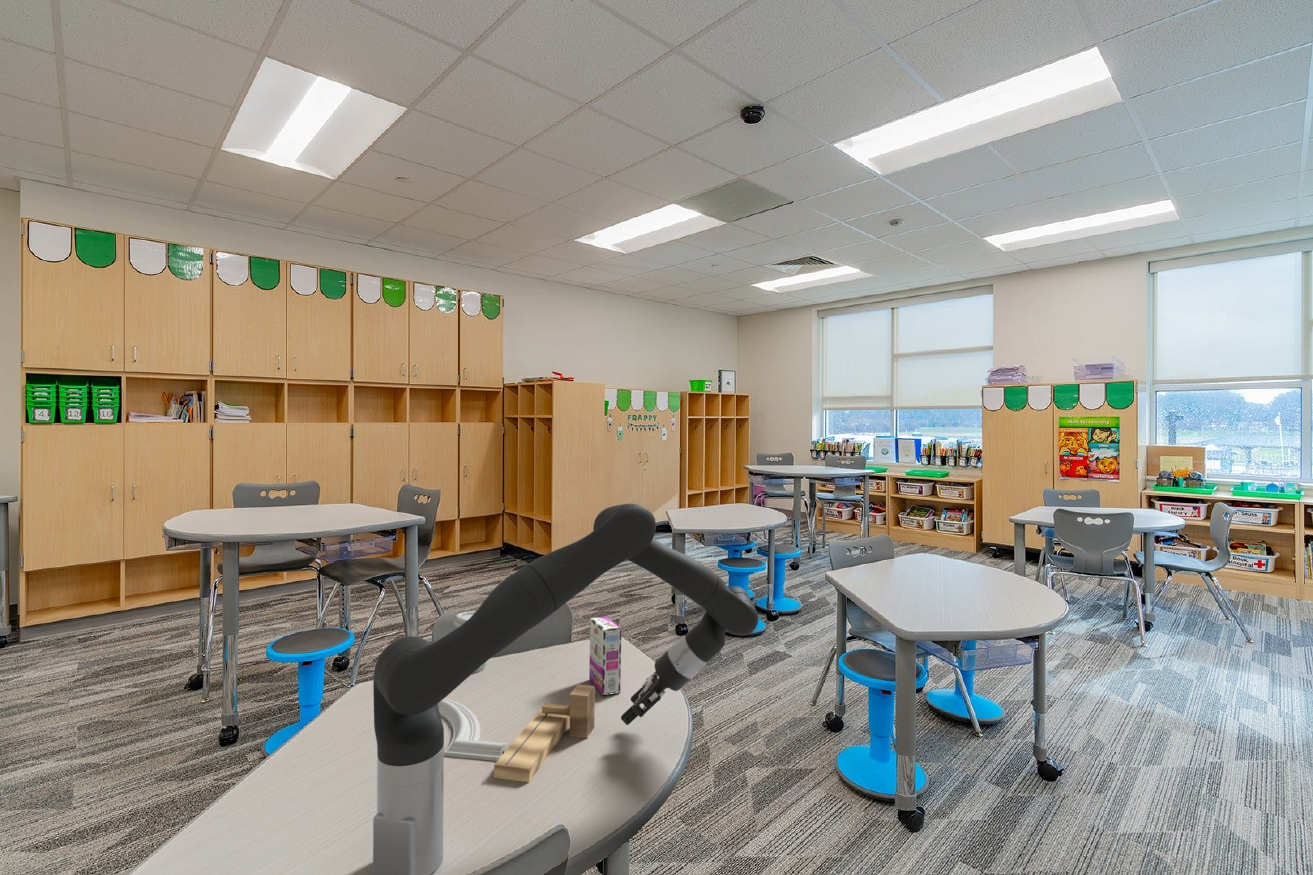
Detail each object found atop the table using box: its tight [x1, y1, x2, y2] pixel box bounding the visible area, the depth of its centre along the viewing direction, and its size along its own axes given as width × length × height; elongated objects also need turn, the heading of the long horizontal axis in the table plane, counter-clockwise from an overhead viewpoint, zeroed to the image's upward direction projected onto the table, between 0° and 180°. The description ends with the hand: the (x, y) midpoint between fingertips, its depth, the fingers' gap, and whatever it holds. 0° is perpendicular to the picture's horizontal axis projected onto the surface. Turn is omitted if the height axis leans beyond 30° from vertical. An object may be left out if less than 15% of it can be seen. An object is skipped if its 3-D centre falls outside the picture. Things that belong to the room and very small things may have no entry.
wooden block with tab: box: [541, 684, 596, 739], centre depth 129 cm, size 5×11×9 cm, turn 79°
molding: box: [438, 697, 511, 762], centre depth 132 cm, size 42×12×3 cm, turn 36°
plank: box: [493, 708, 570, 783], centre depth 122 cm, size 24×7×3 cm, turn 169°
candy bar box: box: [588, 616, 622, 696], centre depth 151 cm, size 11×5×16 cm, turn 25°
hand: (628, 711), depth 127 cm, fingers open, 8 cm apart
